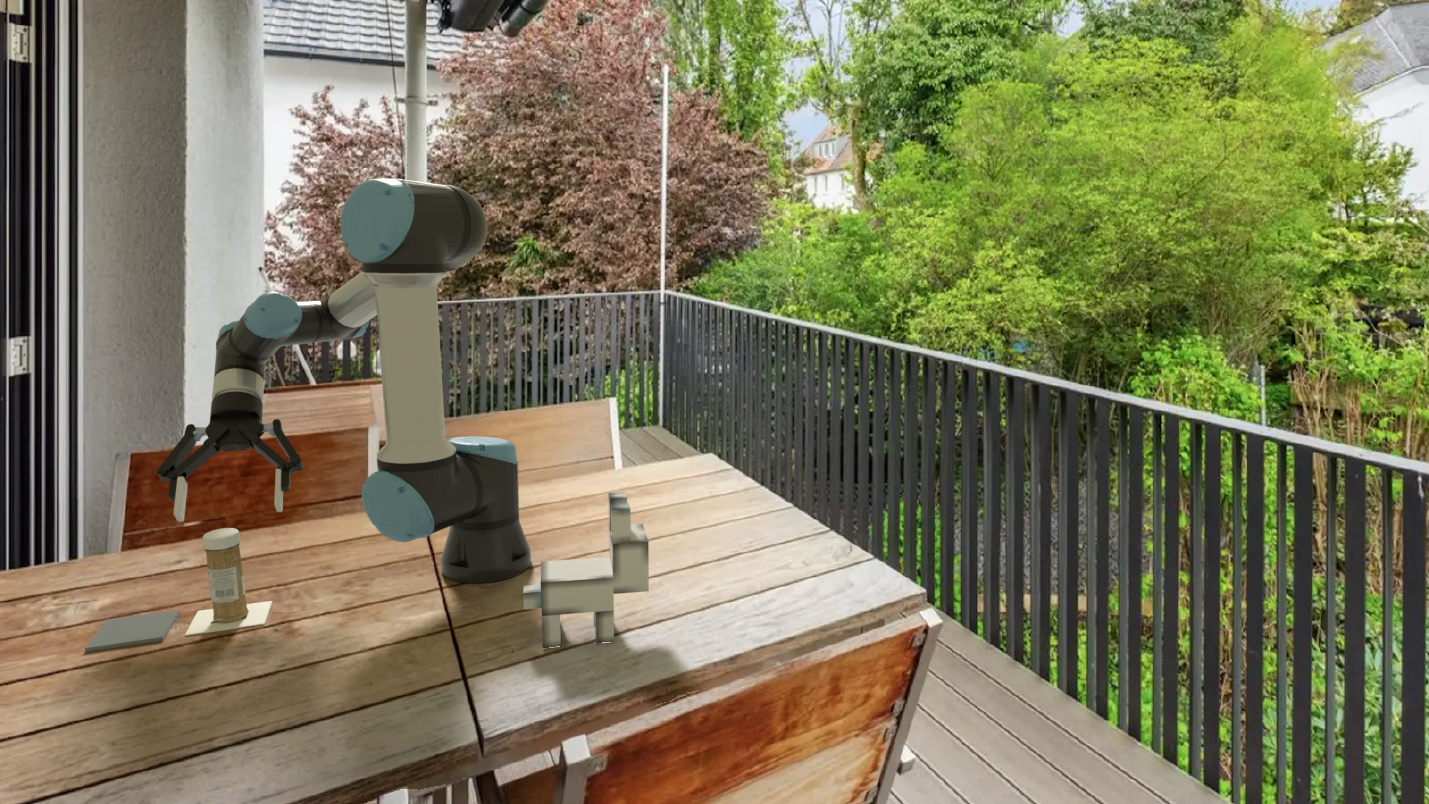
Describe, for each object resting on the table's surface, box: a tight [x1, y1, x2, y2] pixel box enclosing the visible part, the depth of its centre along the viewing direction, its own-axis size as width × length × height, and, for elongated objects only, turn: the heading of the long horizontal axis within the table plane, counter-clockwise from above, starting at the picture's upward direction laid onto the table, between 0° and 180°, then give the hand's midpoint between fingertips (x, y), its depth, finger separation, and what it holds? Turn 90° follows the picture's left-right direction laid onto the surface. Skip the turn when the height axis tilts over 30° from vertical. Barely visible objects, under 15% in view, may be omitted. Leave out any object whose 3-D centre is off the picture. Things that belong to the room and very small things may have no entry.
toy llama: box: [522, 492, 650, 649], centre depth 112 cm, size 8×18×20 cm, turn 102°
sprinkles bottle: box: [202, 527, 248, 623], centre depth 115 cm, size 5×5×13 cm
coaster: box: [84, 609, 180, 653], centre depth 112 cm, size 9×9×1 cm
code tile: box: [184, 600, 273, 637], centre depth 117 cm, size 10×8×1 cm
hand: (229, 513), depth 122 cm, fingers open, 13 cm apart
